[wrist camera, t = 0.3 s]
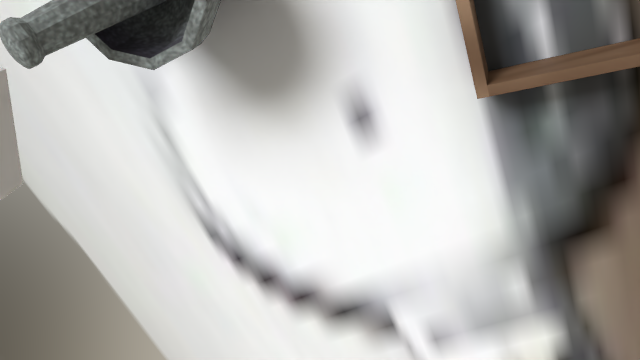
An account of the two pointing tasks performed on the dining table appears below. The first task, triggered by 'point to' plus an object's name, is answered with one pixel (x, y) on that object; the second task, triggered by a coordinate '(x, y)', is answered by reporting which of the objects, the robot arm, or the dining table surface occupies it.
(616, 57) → the tray walnut
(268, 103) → the dining table surface
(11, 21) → the mortar and pestle
